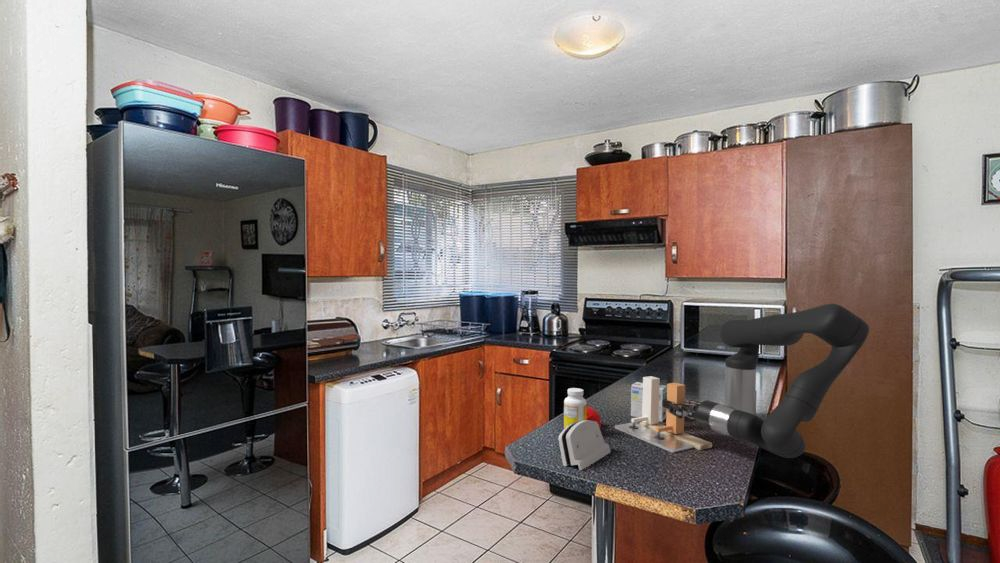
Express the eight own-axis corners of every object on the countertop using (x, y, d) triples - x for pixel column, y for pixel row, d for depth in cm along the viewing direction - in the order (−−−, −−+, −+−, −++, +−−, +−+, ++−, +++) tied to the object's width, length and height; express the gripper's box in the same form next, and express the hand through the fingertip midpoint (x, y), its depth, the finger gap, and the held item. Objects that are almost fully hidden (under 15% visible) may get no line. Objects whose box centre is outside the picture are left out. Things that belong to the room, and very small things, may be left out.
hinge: (580, 471, 109) (569, 428, 111) (564, 472, 111) (553, 431, 114) (611, 451, 122) (600, 413, 124) (596, 453, 124) (586, 416, 127)
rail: (650, 424, 146) (650, 420, 146) (712, 447, 127) (712, 443, 127) (639, 426, 143) (639, 422, 143) (700, 450, 124) (700, 445, 124)
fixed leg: (649, 420, 145) (651, 376, 145) (658, 424, 142) (659, 378, 142) (628, 424, 141) (629, 378, 141) (636, 428, 138) (638, 381, 138)
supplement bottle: (579, 428, 140) (580, 386, 140) (589, 435, 134) (591, 391, 134) (559, 429, 138) (560, 387, 138) (569, 437, 132) (570, 393, 132)
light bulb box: (667, 417, 154) (668, 385, 154) (662, 422, 148) (663, 389, 148) (635, 411, 159) (636, 381, 159) (629, 416, 154) (630, 384, 154)
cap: (572, 417, 141) (589, 410, 138) (575, 406, 146) (591, 398, 143) (587, 437, 141) (603, 430, 139) (589, 425, 147) (605, 418, 144)
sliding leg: (674, 429, 137) (675, 382, 137) (683, 433, 134) (685, 385, 134) (652, 434, 132) (653, 385, 132) (661, 438, 129) (663, 388, 129)
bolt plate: (633, 424, 145) (633, 421, 145) (692, 448, 126) (692, 444, 126) (614, 428, 141) (614, 425, 141) (672, 452, 122) (672, 449, 122)
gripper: (736, 401, 125) (684, 387, 140) (702, 407, 119) (651, 392, 134) (735, 428, 125) (683, 411, 141) (701, 436, 119) (650, 417, 134)
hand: (667, 402), depth 137 cm, fingers closed on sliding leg, 3 cm apart
